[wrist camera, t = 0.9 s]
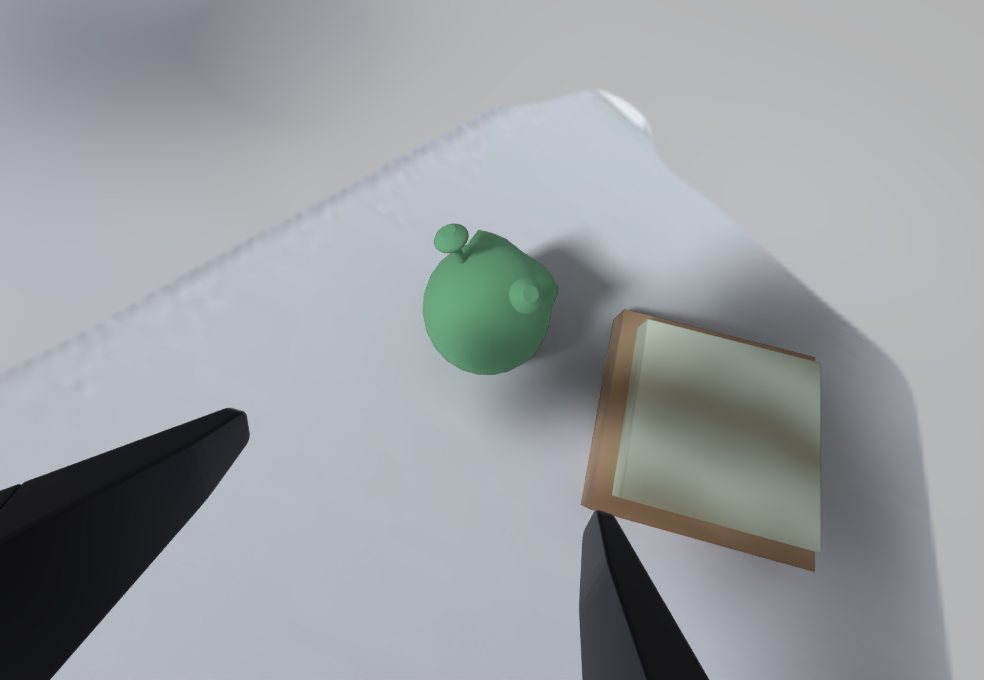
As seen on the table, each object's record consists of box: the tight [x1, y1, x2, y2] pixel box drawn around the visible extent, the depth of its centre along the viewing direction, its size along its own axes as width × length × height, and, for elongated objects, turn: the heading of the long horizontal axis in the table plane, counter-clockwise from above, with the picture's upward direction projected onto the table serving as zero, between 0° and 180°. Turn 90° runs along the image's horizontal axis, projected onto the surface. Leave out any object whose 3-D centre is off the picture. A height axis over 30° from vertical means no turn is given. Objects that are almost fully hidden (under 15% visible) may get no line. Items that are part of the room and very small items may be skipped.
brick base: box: [581, 309, 821, 572], centre depth 22 cm, size 12×12×4 cm
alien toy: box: [423, 224, 558, 375], centre depth 20 cm, size 7×8×10 cm
